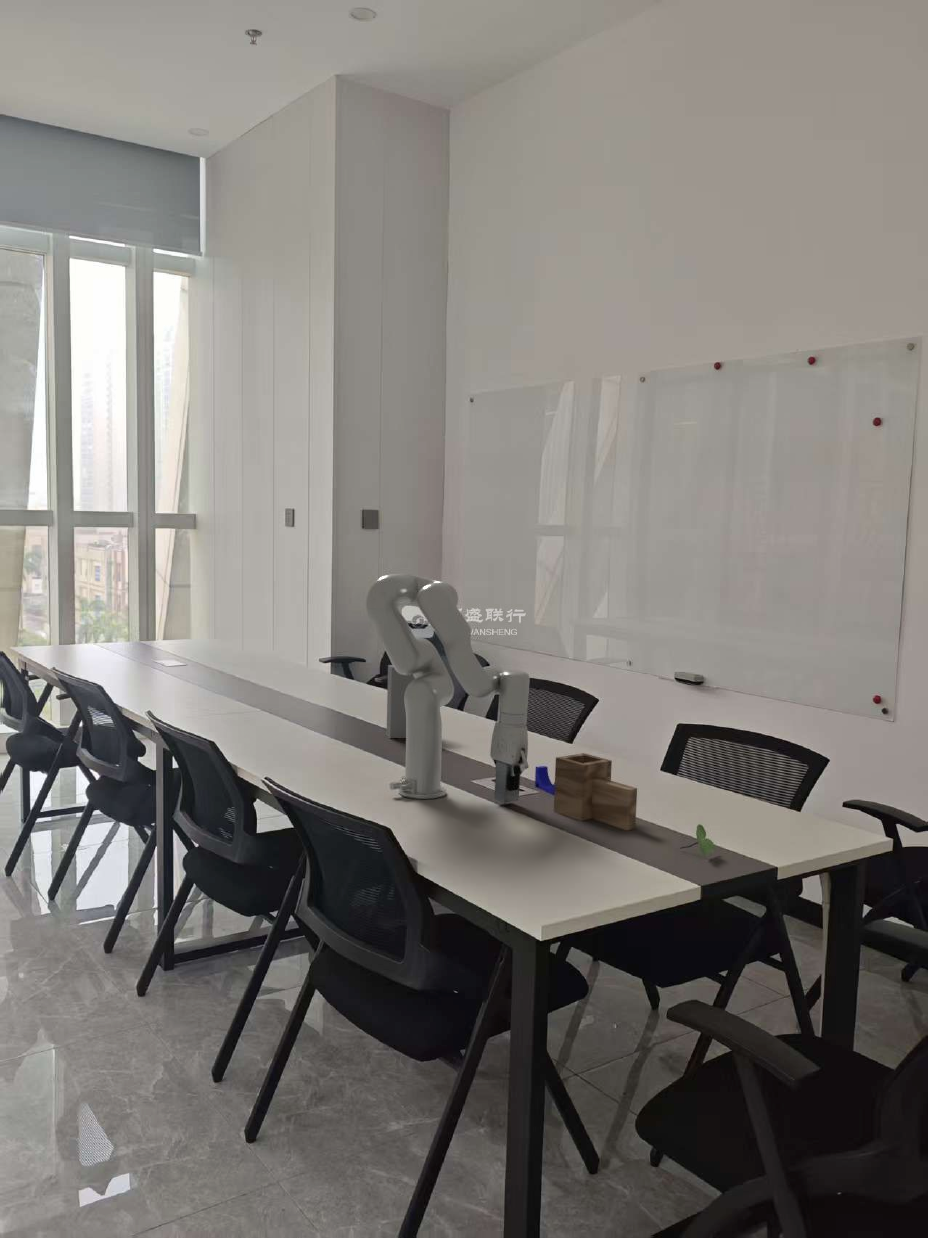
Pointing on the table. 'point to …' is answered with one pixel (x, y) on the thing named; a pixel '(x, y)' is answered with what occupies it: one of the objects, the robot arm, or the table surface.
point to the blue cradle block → (543, 780)
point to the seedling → (703, 841)
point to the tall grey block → (396, 703)
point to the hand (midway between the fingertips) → (507, 787)
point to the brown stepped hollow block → (593, 792)
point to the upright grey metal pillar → (504, 784)
